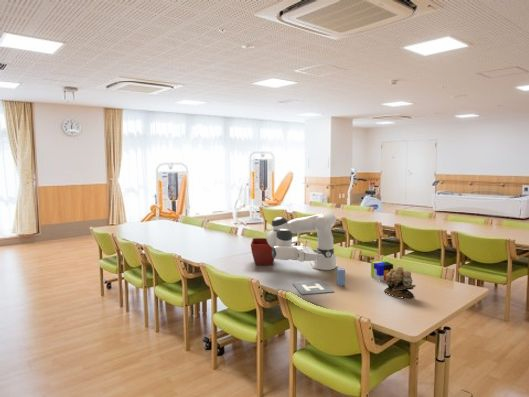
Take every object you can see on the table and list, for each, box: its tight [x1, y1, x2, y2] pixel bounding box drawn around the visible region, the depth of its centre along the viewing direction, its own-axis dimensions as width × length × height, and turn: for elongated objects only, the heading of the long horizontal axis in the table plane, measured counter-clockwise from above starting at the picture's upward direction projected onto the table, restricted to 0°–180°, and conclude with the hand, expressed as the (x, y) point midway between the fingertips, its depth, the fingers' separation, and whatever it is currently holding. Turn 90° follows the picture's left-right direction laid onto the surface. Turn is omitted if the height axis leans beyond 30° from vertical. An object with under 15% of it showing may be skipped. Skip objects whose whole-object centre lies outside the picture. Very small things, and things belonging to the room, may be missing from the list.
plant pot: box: [250, 237, 275, 266], centre depth 295 cm, size 19×19×17 cm
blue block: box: [336, 267, 346, 287], centre depth 243 cm, size 4×4×10 cm
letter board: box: [292, 280, 335, 296], centre depth 238 cm, size 20×20×1 cm
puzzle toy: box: [370, 260, 394, 281], centre depth 255 cm, size 10×10×10 cm
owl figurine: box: [383, 265, 417, 299], centre depth 225 cm, size 18×12×17 cm, turn 46°
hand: (320, 253), depth 241 cm, fingers open, 8 cm apart
